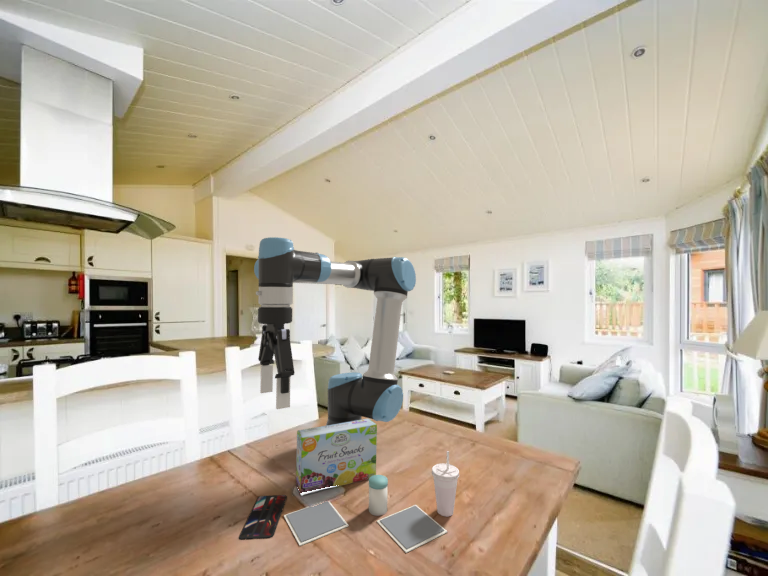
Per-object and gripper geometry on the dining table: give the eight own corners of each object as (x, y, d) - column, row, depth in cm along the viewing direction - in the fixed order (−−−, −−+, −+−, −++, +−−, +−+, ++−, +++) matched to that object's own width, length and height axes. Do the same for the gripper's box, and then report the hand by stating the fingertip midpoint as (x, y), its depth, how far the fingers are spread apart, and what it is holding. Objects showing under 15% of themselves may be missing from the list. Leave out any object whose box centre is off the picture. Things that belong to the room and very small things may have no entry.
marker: (365, 507, 81) (365, 478, 81) (380, 501, 84) (381, 472, 84) (374, 518, 77) (375, 487, 77) (391, 511, 80) (391, 481, 80)
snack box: (300, 498, 85) (301, 437, 85) (295, 487, 90) (296, 429, 90) (377, 477, 95) (377, 423, 95) (368, 468, 100) (368, 416, 100)
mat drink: (376, 521, 76) (376, 519, 76) (415, 505, 82) (415, 503, 82) (406, 553, 67) (406, 551, 67) (447, 532, 73) (447, 530, 73)
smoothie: (459, 522, 76) (459, 459, 76) (430, 518, 77) (430, 456, 78) (459, 504, 82) (459, 446, 83) (432, 501, 84) (432, 444, 84)
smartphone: (237, 538, 70) (258, 495, 85) (237, 542, 70) (258, 498, 85) (273, 537, 71) (287, 494, 86) (273, 540, 71) (287, 497, 86)
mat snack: (283, 516, 78) (283, 514, 78) (328, 500, 84) (328, 499, 84) (299, 546, 69) (299, 544, 69) (348, 526, 75) (348, 524, 75)
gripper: (246, 304, 86) (245, 388, 86) (273, 308, 65) (272, 419, 65) (276, 304, 90) (275, 384, 90) (311, 307, 69) (309, 412, 69)
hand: (274, 399), depth 77 cm, fingers open, 13 cm apart
